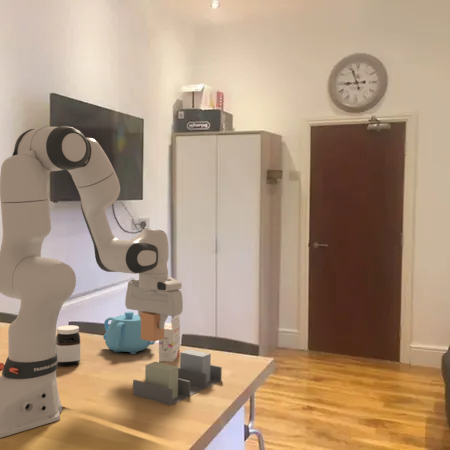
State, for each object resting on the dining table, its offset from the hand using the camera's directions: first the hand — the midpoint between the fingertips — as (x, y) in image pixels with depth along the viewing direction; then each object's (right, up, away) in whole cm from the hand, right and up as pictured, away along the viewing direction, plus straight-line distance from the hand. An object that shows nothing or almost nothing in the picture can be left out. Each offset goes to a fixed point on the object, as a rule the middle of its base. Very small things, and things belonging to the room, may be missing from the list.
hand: (152, 327), depth 165 cm
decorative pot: (-12, -14, +28) cm, 33 cm away
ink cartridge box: (+4, -14, +15) cm, 21 cm away
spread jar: (-31, -14, +12) cm, 36 cm away
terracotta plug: (0, -4, 0) cm, 4 cm away
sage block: (+5, -15, -20) cm, 25 cm away
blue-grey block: (+13, -14, -7) cm, 21 cm away
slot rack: (+9, -15, -13) cm, 22 cm away
